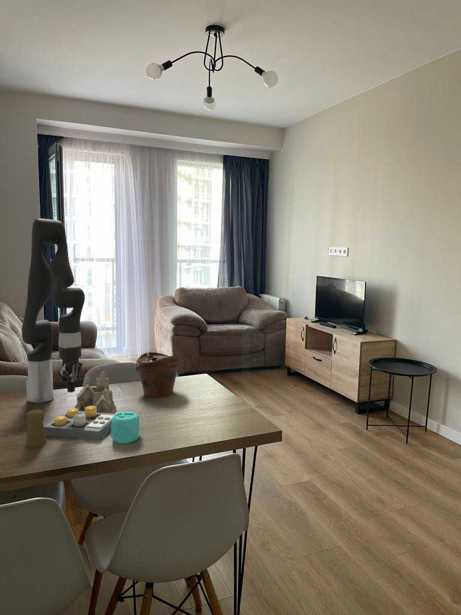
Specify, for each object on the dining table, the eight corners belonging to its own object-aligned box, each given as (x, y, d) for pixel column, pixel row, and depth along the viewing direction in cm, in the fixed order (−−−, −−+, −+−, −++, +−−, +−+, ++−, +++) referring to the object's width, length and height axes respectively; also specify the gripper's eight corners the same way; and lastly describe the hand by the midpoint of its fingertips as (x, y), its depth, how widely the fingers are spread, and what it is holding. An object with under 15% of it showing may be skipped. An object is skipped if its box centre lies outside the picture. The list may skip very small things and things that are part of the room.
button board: (43, 435, 151) (43, 424, 151) (68, 418, 167) (68, 408, 166) (99, 440, 148) (98, 429, 147) (119, 422, 163) (119, 412, 163)
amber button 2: (64, 419, 160) (64, 411, 160) (70, 415, 164) (70, 407, 164) (75, 420, 160) (74, 412, 159) (80, 416, 163) (80, 408, 163)
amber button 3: (82, 417, 159) (82, 409, 158) (88, 413, 163) (88, 405, 162) (93, 418, 158) (93, 410, 158) (98, 414, 162) (98, 406, 162)
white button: (71, 425, 151) (70, 417, 151) (77, 421, 155) (76, 413, 155) (82, 426, 150) (81, 418, 150) (88, 422, 154) (87, 414, 154)
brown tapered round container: (142, 385, 208) (142, 347, 206) (184, 387, 206) (184, 349, 203) (128, 398, 191) (127, 356, 188) (174, 400, 188) (174, 359, 186)
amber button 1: (52, 428, 152) (51, 419, 152) (58, 424, 156) (58, 415, 156) (63, 429, 152) (62, 420, 151) (69, 424, 156) (69, 416, 155)
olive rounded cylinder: (30, 440, 147) (28, 407, 146) (49, 439, 148) (47, 407, 146) (23, 448, 141) (21, 414, 140) (43, 447, 142) (41, 414, 140)
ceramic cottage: (77, 404, 181) (77, 369, 178) (119, 405, 183) (119, 369, 180) (67, 421, 166) (67, 382, 163) (113, 421, 168) (113, 383, 165)
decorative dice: (136, 443, 145) (136, 419, 144) (111, 444, 145) (110, 420, 144) (139, 433, 153) (139, 411, 152) (115, 434, 153) (115, 411, 152)
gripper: (70, 339, 165) (71, 385, 168) (49, 347, 153) (51, 396, 155) (89, 341, 164) (90, 387, 166) (69, 349, 151) (71, 398, 154)
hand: (71, 391), depth 161 cm, fingers closed
